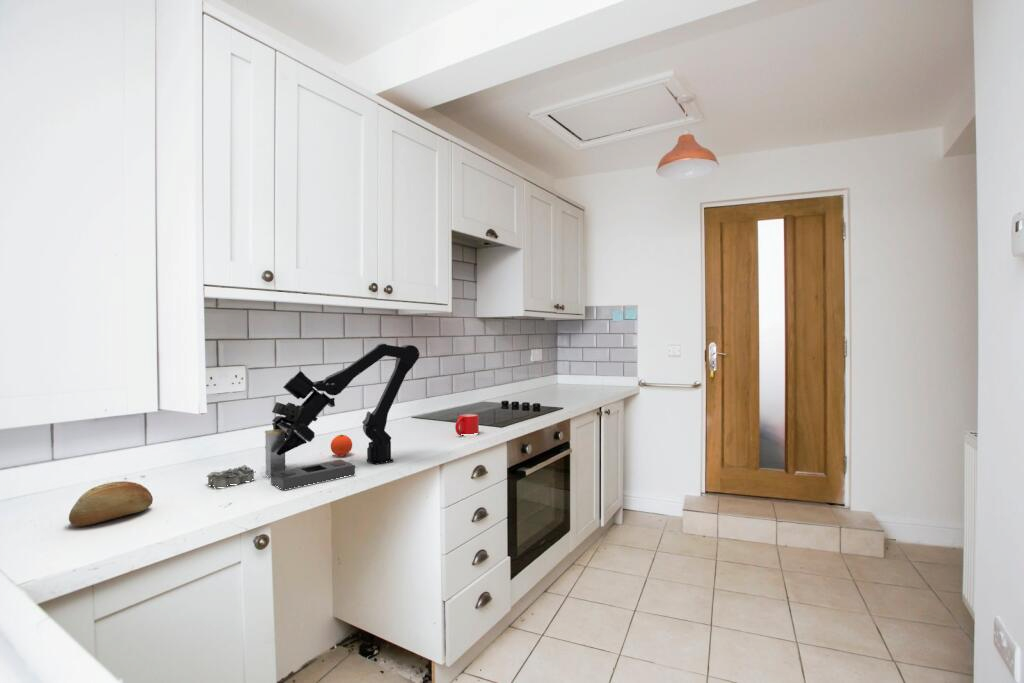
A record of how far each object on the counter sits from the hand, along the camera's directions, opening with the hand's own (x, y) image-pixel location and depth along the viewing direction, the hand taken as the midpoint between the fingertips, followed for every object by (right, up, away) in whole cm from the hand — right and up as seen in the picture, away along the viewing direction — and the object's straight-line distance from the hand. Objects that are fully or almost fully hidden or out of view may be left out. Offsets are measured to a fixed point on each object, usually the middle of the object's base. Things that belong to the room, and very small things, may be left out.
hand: (271, 451), depth 143 cm
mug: (+50, -6, +58) cm, 77 cm away
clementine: (+11, -7, +25) cm, 28 cm away
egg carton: (-8, -8, -6) cm, 13 cm away
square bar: (+1, -7, +1) cm, 7 cm away
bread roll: (-20, -8, -32) cm, 38 cm away
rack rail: (+13, -7, -3) cm, 15 cm away
